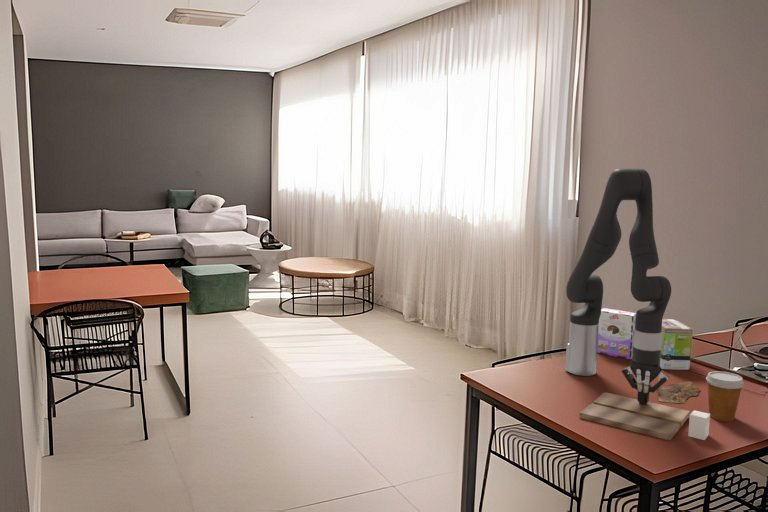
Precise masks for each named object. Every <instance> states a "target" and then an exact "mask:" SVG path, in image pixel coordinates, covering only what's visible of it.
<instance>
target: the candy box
mask: <svg viewBox="0 0 768 512" xmlns="http://www.w3.org/2000/svg"><path fill="white" fill-rule="evenodd" d="M635 321H636V312H633V311H632V312H631V311H627V310H625V311H624V310H620V309H612V308H606V307H603V308H602V307H601V315H600V318H599V328H598V345H597V354H602V355H607V356H610V357H616V358H620V359H621V358H622V359H626V360H632V351H633V337H634V332H635Z"/></svg>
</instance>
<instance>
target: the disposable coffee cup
mask: <svg viewBox="0 0 768 512" xmlns="http://www.w3.org/2000/svg"><path fill="white" fill-rule="evenodd" d="M705 380H706V382H707V399H708V402H707V403H708V414H710V419H711V418H712V419H714V420H717V421H720V422H733V421H734V420H735V417H736V412H737V408H738V405H739V400H740V396H741V392H742V389H743V386H744V385H745V382H744V380H743V377H742V376H741V375H739V374H736V373H733V372H732V373H731V372H728V371H719V370H718V371H717V370H716V371H709V372H708V374H707V375H706V377H705Z"/></svg>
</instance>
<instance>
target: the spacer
mask: <svg viewBox="0 0 768 512" xmlns="http://www.w3.org/2000/svg"><path fill="white" fill-rule="evenodd" d="M688 419H689V421H688V422H689V423H688V434H687V436H688V437H690V438H694V439H697V440H703V441H705V440H706V439H707V438H708V437H709V432H710V422H711V421H710V420H711V417H710V414H709V412H702V411H699V410H695V409H694V410H693V411H692V412H690V413H689V418H688Z"/></svg>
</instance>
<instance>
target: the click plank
mask: <svg viewBox="0 0 768 512" xmlns="http://www.w3.org/2000/svg"><path fill="white" fill-rule="evenodd" d="M592 404H596V405H601V406H605V407H609V408H613V409H618V410H622V411H626V412H630V413H635V414H639V415H643V416H647V417H652V418H656V419H660V420H664V421H669V422H673V423H677V424H680V426H679V427H680V429H681V428H682V427H683V426H684V425H685V423H686V421H687V420H688V419H689V418H690V414H691V412H690V410H687V409H683V408H682V409H681V408H677V407H672V406H669V405H665V404H660V403H654V402H651V401H648V403H647V404H645V405H641V404H639V402H638V400H637V398H632V397H628V396H624V395H619V394H616V393H615V394H614V393H610V392H603V393H602V394H601V395H599V396H598V397H597V398H596V399H595V400H594V401H593V402H592Z"/></svg>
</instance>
